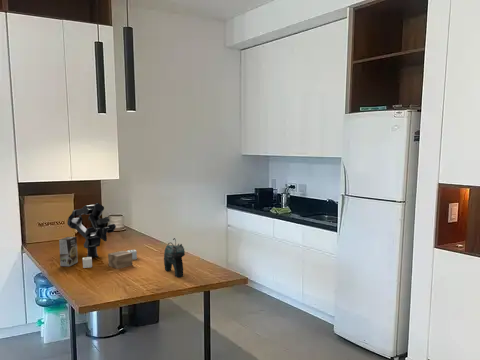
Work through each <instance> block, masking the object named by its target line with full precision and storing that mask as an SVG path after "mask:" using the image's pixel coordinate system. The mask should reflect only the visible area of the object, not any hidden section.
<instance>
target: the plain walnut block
mask: <svg viewBox="0 0 480 360" xmlns="http://www.w3.org/2000/svg"><path fill="white" fill-rule="evenodd" d="M107 262H108V266H109V267H111V268H114V269H117V270H118V269H123V268H127V267H131V266H133V260H132V253H130V252H127V251H126V250H119V251H114V252H110V253H107Z"/></svg>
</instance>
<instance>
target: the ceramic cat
mask: <svg viewBox="0 0 480 360" xmlns="http://www.w3.org/2000/svg"><path fill="white" fill-rule="evenodd" d="M172 240H173V241H174V242H175V244H173V242H168V243H167V245H166V246H165V248H164V254H163V264H164V265H163V266H164V271H165V272H171V271H172V269H174V277H176V278H177V279H178V278H183V277H184V263H183V257H184V256H185V255H186V254H185V248H184V246H183V244H182V243H178V244H177V240H176V238H173V239H172ZM172 267H173V268H172Z"/></svg>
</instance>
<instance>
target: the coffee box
mask: <svg viewBox="0 0 480 360" xmlns="http://www.w3.org/2000/svg"><path fill="white" fill-rule="evenodd" d="M58 241H59V242H58V243H59V263H60V264H59V266H60V267H71V266H73V265H75V264H77V263H78V262H79V261H78V240H77V236H67V237H63V238H60V239H59V240H58Z"/></svg>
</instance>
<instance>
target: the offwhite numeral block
mask: <svg viewBox="0 0 480 360" xmlns="http://www.w3.org/2000/svg"><path fill="white" fill-rule="evenodd" d="M92 258H93V257H87V256H86V257H82V268H83V269H85V268H87V269H88V268H92V267H93V259H92Z"/></svg>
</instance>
